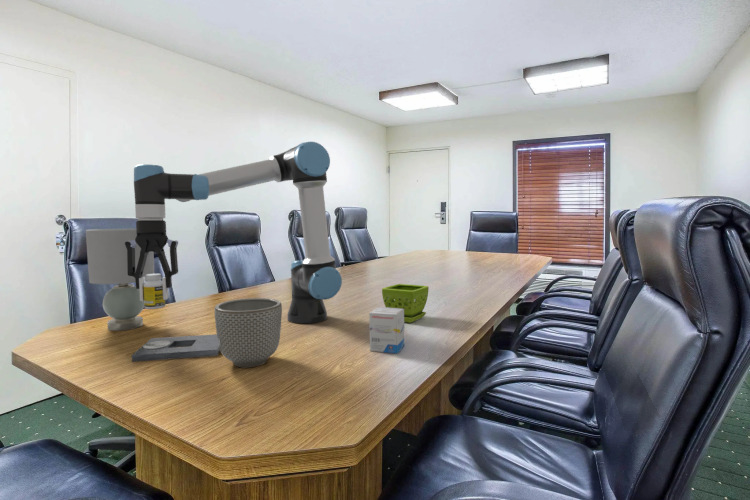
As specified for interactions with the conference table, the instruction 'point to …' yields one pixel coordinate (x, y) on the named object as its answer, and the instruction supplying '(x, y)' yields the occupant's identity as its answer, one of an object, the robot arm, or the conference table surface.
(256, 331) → the planter
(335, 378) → the conference table surface
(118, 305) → the lamp
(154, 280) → the supplement bottle
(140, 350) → the housing plate
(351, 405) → the conference table surface
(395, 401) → the conference table surface
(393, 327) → the ink box
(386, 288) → the flower pot
